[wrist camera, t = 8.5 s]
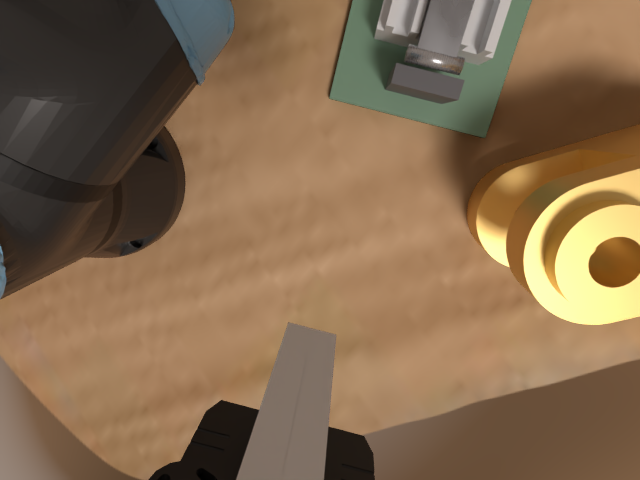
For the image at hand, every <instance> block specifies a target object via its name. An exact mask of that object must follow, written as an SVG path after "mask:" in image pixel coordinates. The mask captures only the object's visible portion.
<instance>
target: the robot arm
mask: <svg viewBox="0 0 640 480" xmlns="http://www.w3.org/2000/svg"><path fill="white" fill-rule="evenodd" d="M234 20H235V18H234V10H233V6H232V3H231V1H230V0H0V299H2V298H4V297H6V296H8V295H10V294H12V293H14V292H16V291H18V290H20V289H22V288H24V287H26V286H28V285H30V284H32V283H34V282H36V281H38V280H40V279H42V278H44V277H46V276H48V275H50V274H52V273H54V272H56V271H58V270H60V269H62V268H64V267H66V266H68V265H70V264H72V263H74V262H76V261H77V260H79V259H81V258H83V257H94V258H113V257H121V256H125V255H129V254H132V253H135V252H138V251H140V250H142V249H144V248H145V247H147V246H149V245H151V244H152V243H154V242H155V241H157V240H158V239H160V238H161V237H162V236H163V235H164V234H165V233H166V232H167V231H168V230H169V229H170V228H171V226H172V225H173V224H174V222H175V220H176V219H177V217H178V215H179V212H180V210H181V207H182V204H183V199H184V193H185V174H184V168H183V163H182V160H181V156H180V154H179V151H178V149H177V147H176V144H175V143H174V141H173V139H172V137H171V136H170V134H169V133H168V131H167V130H166V129H165V127H164V125H165V124H166V123H167V121H168V120H169V119H170V118H171V116H172V115H173V114H174V113H175V111H176V110H177V109H178V108H179V106H180V105H181V104H182V102H183V101H184V100H185V99H186V97H187V96H188V95H189V94H190V92H191V91H192V90H193V89H194V87H195V86H196V85H197V84H198V85H199V86H200V85H201V84H202V83H203V82H204V80H205V73H206V71H207V70H208V68H209V67H210V66H211V64H212V63H213V61H214V60H215V59H216V57H217V56H218V54H219V53H220V52H221V50H222V49H223V48H224V46H225V45H226V43H227V42H228V40H229V39H230V37H231V35H232V32H233V29H234ZM335 344H336V335H335V334H332V333H328V332H324V331H320V330H316V329H312V328H308V327H305V326H301V325H297V324H293V323H289V322H288V325H287V328H286V331H285V334H284V337H283V340H282V343H281V346H280V349H279V352H278V355H277V358H276V361H275V364H274V367H273V370H272V373H271V376H270V379H269V382H268V385H267V388H266V391H265V394H264V397H263V400H262V403H261V406H260V409H259V410H257V409H253V408H249V407H246V406H242V405H238V404H234V403H230V402H227V401H223V400H221V401H220V402H218V403H217V404H215V405H214V406H213V407H211V408H210V409H209V410H207V411H206V413H205V414H204V416H203V418H202V420H201V422H200V424H199V426H198V429H197V430H196V432H195V434H194V436H193V438H192V440H191V442H190V444H189V445H188V447H187V449H186V451H185V453H184V455H183V457H182V459H181V461H179V462H173V463H170V464H168V465H166V466H164V467H162V468H160V469H159V470H157V471H156V472H155V473H154V474H153V475H152V476H151V477H150V479H149V480H375V478H374V477H375V476H374V460H373V452H372V450H371V449H370V447H369V445H368V443H367V441H366V439H365V437H364V436H362V435H358V434H354V433H351V432H347V431H343V430H339V429H335V428H332V427H328V425H329V413H330V402H331V390H332V378H333V367H334V355H335Z"/></svg>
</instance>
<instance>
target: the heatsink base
mask: <svg viewBox="0 0 640 480" xmlns="http://www.w3.org/2000/svg"><path fill="white" fill-rule="evenodd" d="M531 1H532V0H475V1H474V4H473V8H472V11H471V14H470V17H469V20H468V23H467V26H466V30H465V33H464V36H463V39H462V42H461V45H460V48H459V52H458V55H457V56H460V57H464V58H465V62H464V66H463V69H462V71H461V73H460V75H455V74H451V73H447V72H443V71H439V70H435V69H431V68H427V67H423V66H419V65H415V64H411V63H407V62H404V59H405V55H406V51H407V48H408V45H409V44H412V45H416V46H417V44H418V40H419V37H420V33H421V30H422V27H423V23H424V20H425V16H426V13H427V9H428V6H429V2H430V0H353V1H352V5H351V10H350V14H349V18H348V22H347V26H346V30H345V35H344V39H343V43H342V47H341V51H340V55H339V60H338V64H337V68H336V72H335V76H334V80H333V85H332V89H331V93H330V97H329V98H330V99H332V100H336V101H340V102H344V103H348V104H352V105H356V106H360V107H364V108H368V109H372V110H376V111H379V112H383V113H387V114H391V115H395V116H399V117H403V118H407V119H411V120H415V121H419V122H423V123H427V124H431V125H434V126H438V127H442V128H446V129H450V130H454V131H458V132H462V133H466V134H470V135H474V136H478V137H482V138H485V137H486V134H487V131H488V128H489V125H490V122H491V119H492V117H493V114H494V111H495V108H496V105H497V102H498V99H499V96H500V93H501V90H502V87H503V84H504V81H505V78H506V75H507V72H508V69H509V66H510V63H511V60H512V57H513V54H514V51H515V48H516V45H517V42H518V39H519V37H520V34H521V31H522V28H523V25H524V22H525V19H526V16H527V13H528V10H529V7H530V4H531Z"/></svg>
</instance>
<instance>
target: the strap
mask: <svg viewBox="0 0 640 480" xmlns="http://www.w3.org/2000/svg"><path fill="white" fill-rule="evenodd" d="M474 1H475V0H430V2H429V6H428V9H427V13H426V16H425V20H424V23H423V27H422V30H421V33H420V37H419V40H418V44H417V46H416V45H412V44H409V45H408V48H407V51H406V55H405V59H404V62H407V63H411V64H415V65H419V66H423V67H427V68H431V69H435V70H439V71H443V72H447V73H451V74H455V75H460V73H461V71H462V69H463V66H464V62H465V58H464V57H460V56H457V55H458V52H459V48H460V45H461V42H462V39H463V36H464V33H465V30H466V26H467V23H468V20H469V17H470V14H471V11H472V8H473V4H474Z"/></svg>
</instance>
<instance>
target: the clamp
mask: <svg viewBox="0 0 640 480" xmlns="http://www.w3.org/2000/svg"><path fill="white" fill-rule="evenodd" d="M518 207H519V208H518ZM517 208H518V209H517ZM516 210H517V211H516ZM467 220H468V225H469V229H470V231H471V234H472V235H473V237H474V239H475V240H476V241H477V243H478V244H479V245H480V246H481V247H482V248H483V249H484V250H485V251H486V252H487V253H488V254H490V255H491V256H492V257H493V258H494V259H495V260H497V261H498V262H500V263H502V264H504V265H506V266H508V267H510V269H511V271H512V273H513V275H514V277H515V278H516V279H517V281H518V282H519V283H520V284H521V285H522V286H523V287H524V288H525V289H526V290H527V291H528V292H529V293H530V294H531V295H532V296H533V297H534V298H535V299H536V300H537V301H538V302H539V303H540V304H541V305H542V306H543V307H545V308H546V309H547V310H548V311H550V312H551V313H553V314H554V315H556V316H558V317H560V318H562V319H565V320H567V321H571V322H575V323H580V324H589V325H598V324H607V323H613V322H617V321H621V320H626V319H630V318H634V317H638V316H640V124H638V125H635V126H631V127H628V128H624V129H621V130H618V131H614V132H611V133H607V134H604V135H600V136H597V137H594V138H590V139H587V140H583V141H580V142H576V143H573V144H569V145H566V146H563V147H559V148H556V149H552V150H549V151H545V152H542V153H539V154H535V155H532V156H528V157H525V158H521V159H518V160H515V161H511V162H508V163H505V164H502V165H500V166H498V167H496V168H494V169H493V170H491V171H490V172H488V173H487V174H486V175H485V176H484V177H483V178H482V179H481V180H480V181H479V182H478V184H477V185H476V187H475V188H474V190H473V192H472V194H471V196H470V199H469V203H468V208H467Z"/></svg>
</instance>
